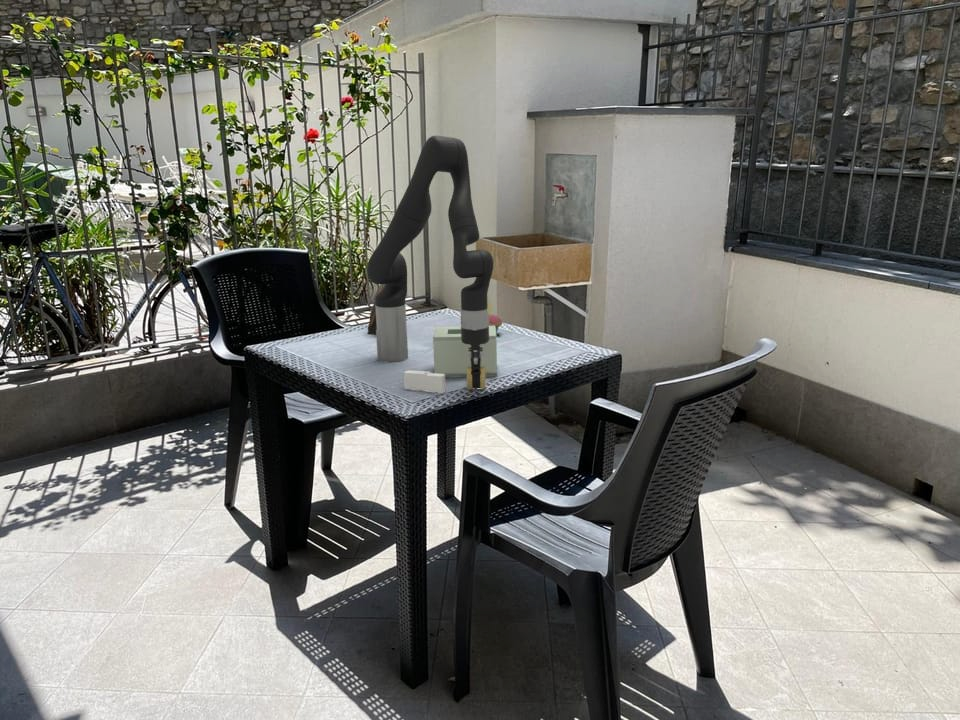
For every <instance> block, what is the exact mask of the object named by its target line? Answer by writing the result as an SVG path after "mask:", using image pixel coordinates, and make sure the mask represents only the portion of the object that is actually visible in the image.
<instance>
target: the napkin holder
mask: <svg viewBox="0 0 960 720" xmlns="http://www.w3.org/2000/svg"><path fill="white" fill-rule="evenodd" d="M403 378H404V390H405V389H415V390H414V391H419V390H427V392H438V393H437V394H440V393H443V392H444V391H445V390H446V377H445V374H438V373H434V372H431V371H423V370H405V372H403ZM446 391H447V390H446ZM446 391H445V392H446ZM427 392H426V393H427ZM445 392H444V393H445ZM444 393H443V394H444Z"/></svg>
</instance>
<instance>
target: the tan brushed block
mask: <svg viewBox="0 0 960 720" xmlns="http://www.w3.org/2000/svg"><path fill="white" fill-rule="evenodd" d="M475 370H479V369H473V371H475ZM480 372H481V375H480V388H486V376H485V365H482V366H481V367H480ZM466 389H473V387H472V374H471V367H470V365H467V377H466Z"/></svg>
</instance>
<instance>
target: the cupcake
mask: <svg viewBox="0 0 960 720" xmlns="http://www.w3.org/2000/svg"><path fill="white" fill-rule="evenodd" d="M488 301H489V302H488V315H489V326H495V328H496V335H497V334H498V330H499V328H500V327H501V326H502V324H503V320H502V319H501V318H500V317H499V316H498V315H495V314H492V311H491V309H492V307H491V305H492V304H491V300H490V299H489V300H488Z"/></svg>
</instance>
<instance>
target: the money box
mask: <svg viewBox="0 0 960 720" xmlns="http://www.w3.org/2000/svg"><path fill="white" fill-rule="evenodd" d="M432 345H433V349H432V350H433V368H434V369H433V373H438V374H445V378H467V365H470V363H469V356H468V348H469V347H471V345H469V344H464V343H463V342H462V341H461V325H459V326H435V327H434V331H433V336H432ZM480 347H483V356H482V365H485V377H497V376H498V363H497V362H498V361H497V359H498V357H497V356H498V355H497V354H498V351H497V334H496V328H495V326H489V341H488V342H487V343H485V344H481V345H480Z"/></svg>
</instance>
